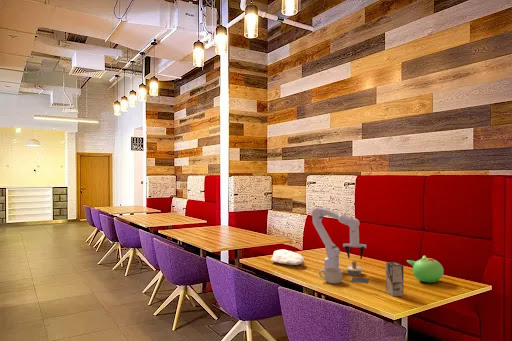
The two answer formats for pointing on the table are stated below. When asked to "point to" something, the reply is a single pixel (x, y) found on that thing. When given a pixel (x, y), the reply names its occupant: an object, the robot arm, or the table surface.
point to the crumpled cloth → (287, 257)
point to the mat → (360, 280)
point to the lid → (354, 267)
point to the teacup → (332, 275)
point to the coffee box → (394, 279)
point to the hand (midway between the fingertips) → (355, 258)
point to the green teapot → (427, 269)
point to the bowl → (354, 273)
